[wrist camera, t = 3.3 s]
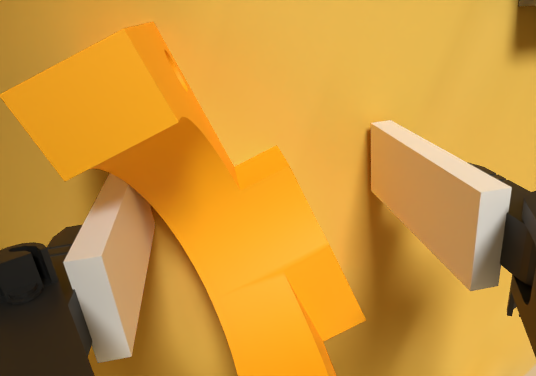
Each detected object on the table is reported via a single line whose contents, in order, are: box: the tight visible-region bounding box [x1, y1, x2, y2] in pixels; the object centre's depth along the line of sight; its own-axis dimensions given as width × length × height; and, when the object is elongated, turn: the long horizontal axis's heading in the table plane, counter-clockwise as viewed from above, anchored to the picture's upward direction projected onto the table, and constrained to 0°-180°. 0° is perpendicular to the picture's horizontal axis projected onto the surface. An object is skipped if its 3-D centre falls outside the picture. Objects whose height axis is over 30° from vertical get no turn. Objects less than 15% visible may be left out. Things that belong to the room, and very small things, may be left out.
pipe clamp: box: [0, 22, 366, 376], centre depth 13 cm, size 12×4×6 cm, turn 25°
